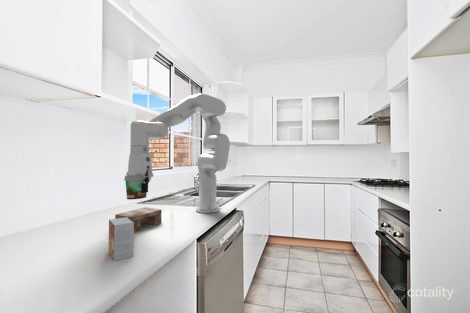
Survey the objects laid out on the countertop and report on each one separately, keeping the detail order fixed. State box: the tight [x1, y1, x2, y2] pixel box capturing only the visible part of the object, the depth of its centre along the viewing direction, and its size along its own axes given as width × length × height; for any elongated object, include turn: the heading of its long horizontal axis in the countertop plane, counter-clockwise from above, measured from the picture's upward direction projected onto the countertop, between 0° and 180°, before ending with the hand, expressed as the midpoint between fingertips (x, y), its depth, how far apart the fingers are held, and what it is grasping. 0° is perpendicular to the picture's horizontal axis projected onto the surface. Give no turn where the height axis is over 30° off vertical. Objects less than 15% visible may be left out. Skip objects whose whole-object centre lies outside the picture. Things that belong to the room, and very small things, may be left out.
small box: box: [108, 217, 135, 262], centre depth 76 cm, size 8×6×10 cm
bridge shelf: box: [114, 206, 163, 233], centre depth 106 cm, size 16×10×6 cm, turn 153°
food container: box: [123, 175, 148, 200], centre depth 105 cm, size 12×6×10 cm, turn 165°
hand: (139, 191), depth 106 cm, fingers closed on food container, 5 cm apart
